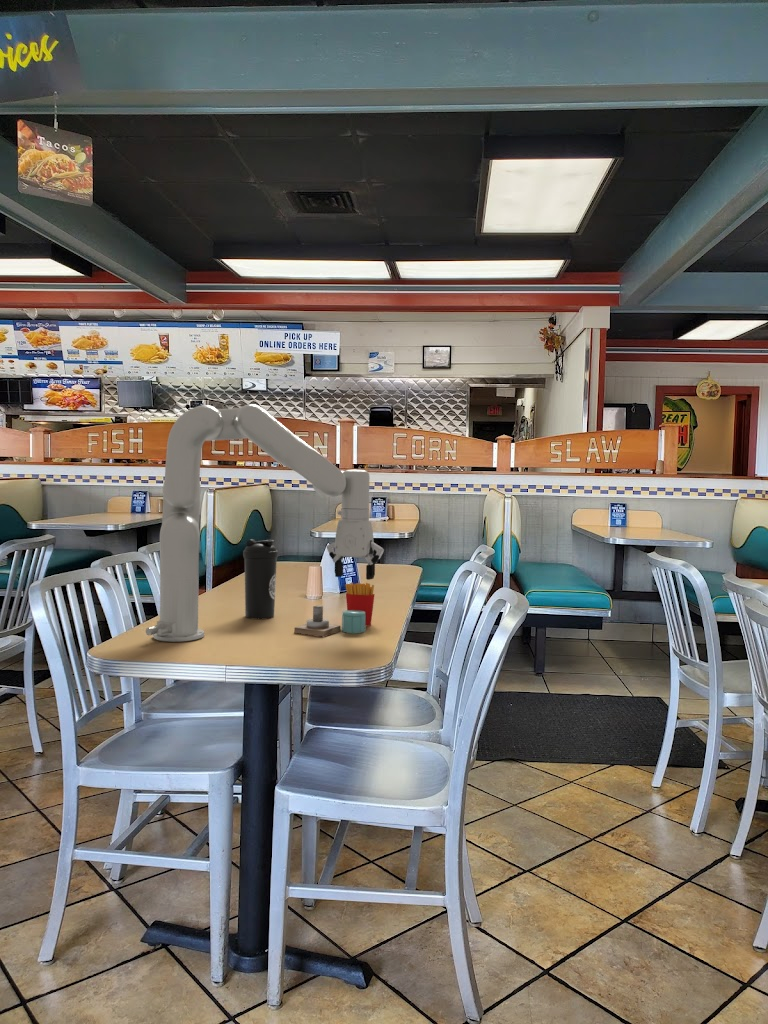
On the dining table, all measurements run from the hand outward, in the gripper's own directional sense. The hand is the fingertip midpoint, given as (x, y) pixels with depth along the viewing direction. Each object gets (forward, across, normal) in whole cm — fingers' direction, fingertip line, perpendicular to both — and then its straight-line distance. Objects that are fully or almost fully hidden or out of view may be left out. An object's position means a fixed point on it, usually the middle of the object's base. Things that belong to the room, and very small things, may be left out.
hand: (354, 577), depth 194 cm
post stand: (+15, -8, -7) cm, 18 cm away
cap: (+15, 0, 0) cm, 15 cm away
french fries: (+15, -3, +9) cm, 17 cm away
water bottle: (+15, -34, +3) cm, 37 cm away
